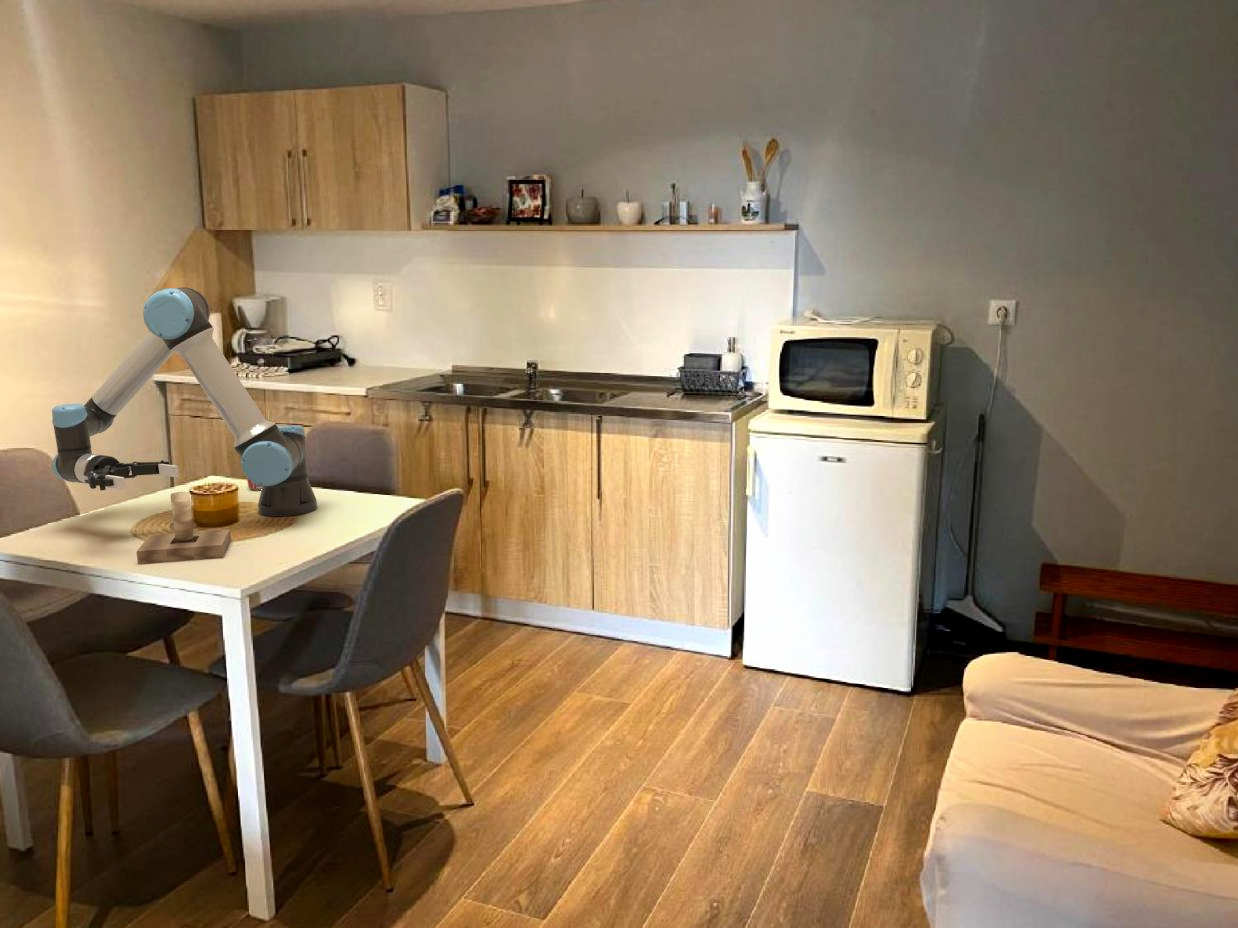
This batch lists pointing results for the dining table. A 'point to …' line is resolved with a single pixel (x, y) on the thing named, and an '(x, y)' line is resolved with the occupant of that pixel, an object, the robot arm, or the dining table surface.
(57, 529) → the dining table surface
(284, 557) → the dining table surface
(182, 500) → the peg
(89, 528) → the dining table surface
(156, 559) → the board
